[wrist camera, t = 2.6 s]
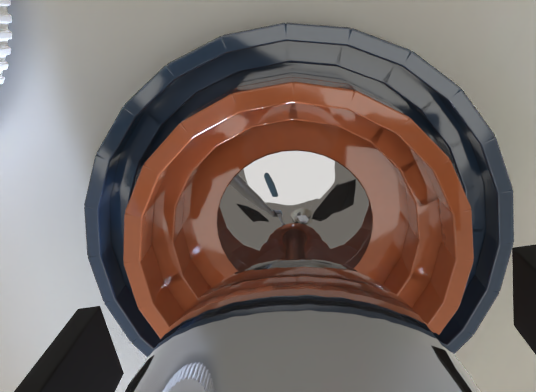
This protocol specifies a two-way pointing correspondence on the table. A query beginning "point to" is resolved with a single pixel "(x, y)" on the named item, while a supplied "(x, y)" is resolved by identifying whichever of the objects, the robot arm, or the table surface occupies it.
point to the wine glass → (298, 298)
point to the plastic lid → (4, 36)
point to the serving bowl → (317, 64)
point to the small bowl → (310, 139)
